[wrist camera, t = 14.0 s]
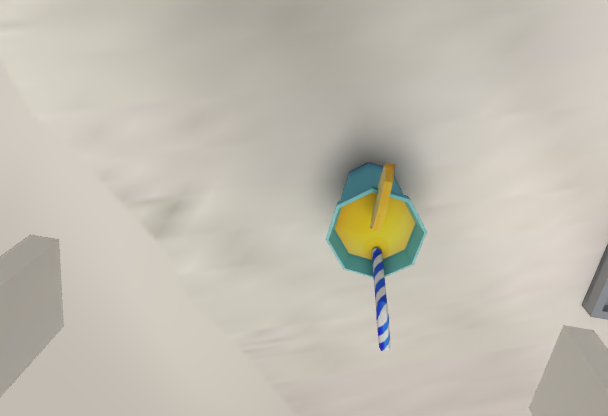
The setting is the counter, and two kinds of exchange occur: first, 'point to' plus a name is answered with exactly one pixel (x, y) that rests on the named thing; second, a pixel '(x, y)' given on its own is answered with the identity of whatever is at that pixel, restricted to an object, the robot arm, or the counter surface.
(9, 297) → the robot arm
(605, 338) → the counter surface
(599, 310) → the tray
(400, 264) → the cup
